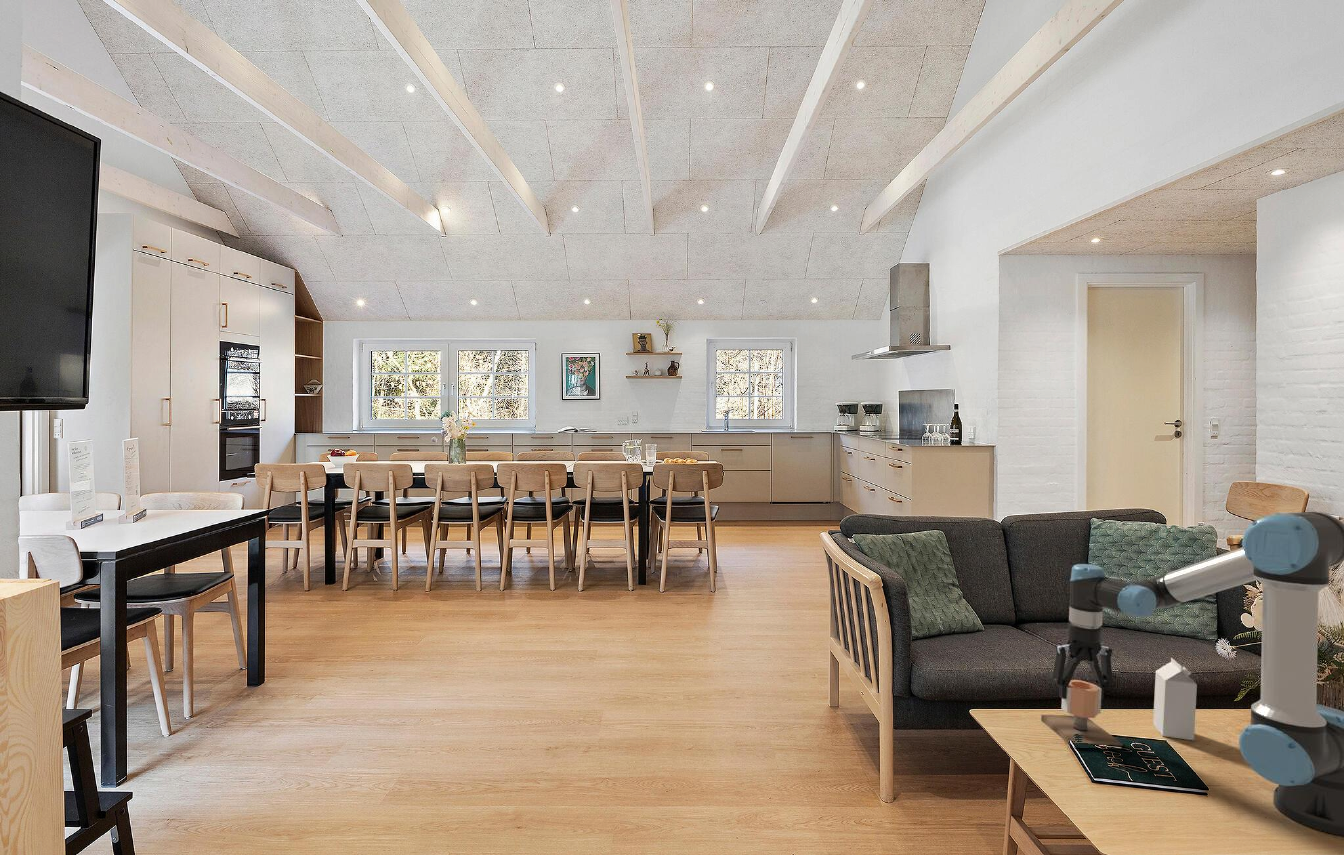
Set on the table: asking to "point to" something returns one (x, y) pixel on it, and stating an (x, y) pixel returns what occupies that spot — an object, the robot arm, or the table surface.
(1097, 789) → the table surface
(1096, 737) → the block
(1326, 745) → the robot arm
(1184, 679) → the milk carton
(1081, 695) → the ring
